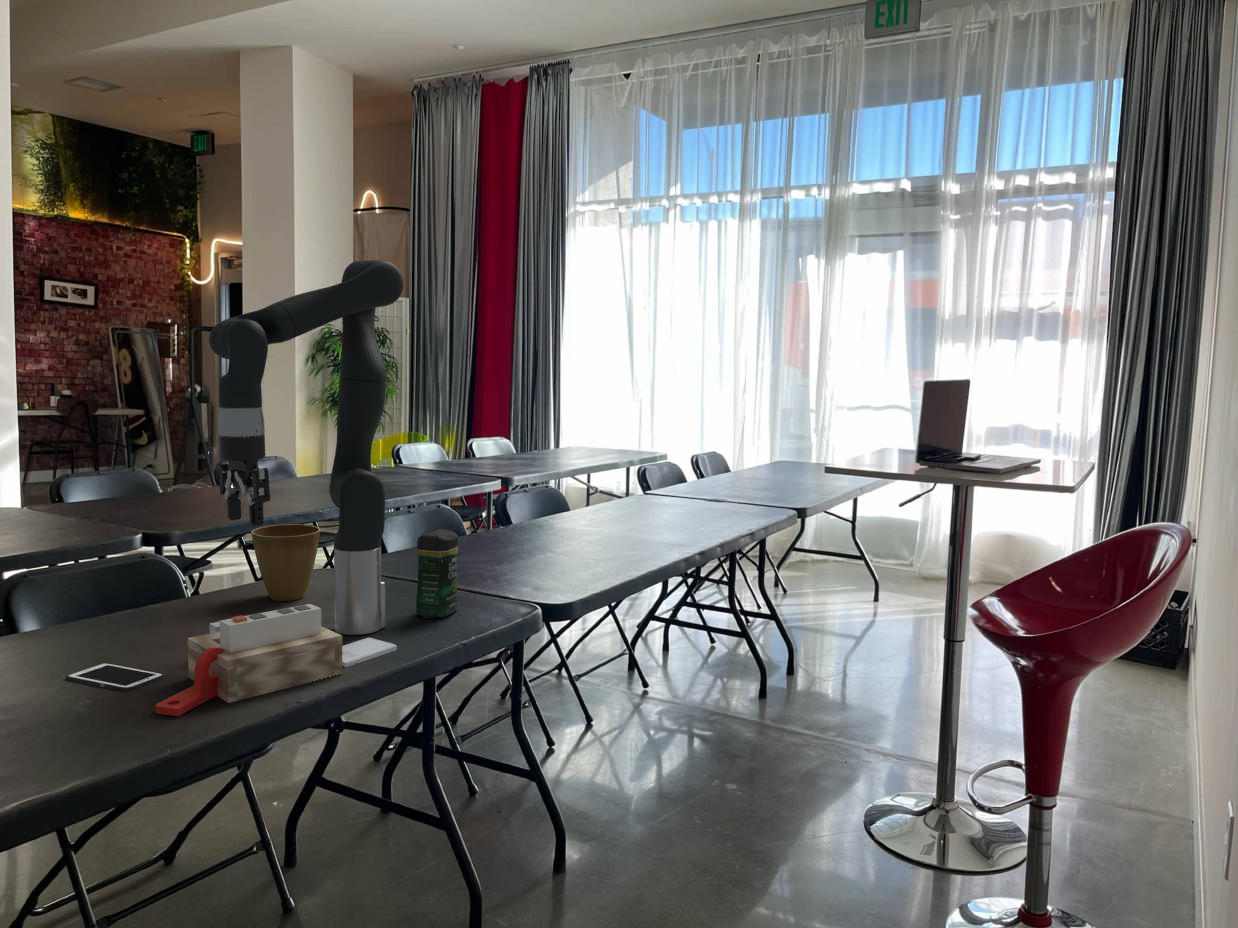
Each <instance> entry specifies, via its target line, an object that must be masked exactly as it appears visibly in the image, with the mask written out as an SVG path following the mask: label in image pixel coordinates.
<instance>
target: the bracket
mask: <svg viewBox="0 0 1238 928" xmlns="http://www.w3.org/2000/svg"><path fill="white" fill-rule="evenodd" d="M223 651H224V650H223V649H221V648H213V647H211V648H208V649H206V650H205V651H203V652H202V654H201V655H200V656H199V658H198V660H197V662H196V665H195V670H194V681H193V682H194V685H191V686H190V687H188V688H186V689H184V690H181V691H180V692H178V693H175V694H174V695H172V696H171V695H170V697H167V698H166V699H163V700H161V701H159V702H158V703H156V704H155V714H158V715H164V716H166V715H167V716H172V717H173V716H174V717H180V716H182V715H183V714H185V713H186V712H189V711H190V710H192V709H195V708H196V707H198V706H200V705H202V704H204V703H205V702H206V703H207V701H209V700H211V699H213V698H215V697H218V696H217V695H218V685H217V675H216V674H215V672H214V671H213V673H212V675H211V676H209V667H210V665H211V663H212V662H214V661H216V660H217V654H219V653H221V652H223Z"/></svg>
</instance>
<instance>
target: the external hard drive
mask: <svg viewBox="0 0 1238 928" xmlns="http://www.w3.org/2000/svg"><path fill="white" fill-rule="evenodd" d="M397 650H398V646H397V645H396V644H394V643H391V642H388V641H383V640H379V639H377V638H376V639H375V638H373V637H366V638H363V639H359V640H357V641H354V642H350V643H347V644H345V645H344V644H343V645H342V667H343V666H344V667H343V668H348V667H351V666H354V665H357V664H359V663H360V664H361V663H363V662H367V661H369V660H371V659H374V658H378V657H380V656H384V655H387V654H389V653H392V652H395V651H397ZM356 663H357V664H356Z"/></svg>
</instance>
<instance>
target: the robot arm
mask: <svg viewBox="0 0 1238 928" xmlns="http://www.w3.org/2000/svg"><path fill="white" fill-rule="evenodd" d="M403 291H404V278H403V274H402V272H401V271H400V269H399V268H398V267H397V266H396V265H395V264H394V263H393V262H389V261H387V260H383V259H382V260H381V259H370V260H367V259H365V260H356V261H352V262H351V263H349V264H348V265H347V266H346V268H345V270H344V271H343V274H342V278H341V282H340V283H336V284H334V285H330V286H327V287H322V288H318V289H315V290H310V291H306V292H302V293H298V294H295V295H292V296H289V297H287V298H284V299H282V300H279V301H277V302H274V303H271V304H269V305H268V306H265V307H264V308H261V309H257V310H254V311H250V312H245V313H243V314H240V315H239V314H238V315H235V316H232V317H228V318H226V319H223V320H221V321H220V322H218V323H216V324H215V325H214V326H213V327H212V329H211V331H210V332H209V336H208V342H209V343H208V344H209V346H210V349H211V350H212V351H213V353H214V354H215V355H217V356H218V357H220V358H221V359H225V360H229V361H228V367H227V368H228V369H227V372H226V374H223V375H222V376H221V377H220V378H219V381H218V405H219V407H218V408H219V409H218V410H219V411H218V420H217V421H218V441H219V443H218V444H219V458H220V459H221V460H223V461H225V462H220V463H219V493H220V495H221V496H224V499H225V500H226V506H227V507H226V508H227V509H226V510H227V511H226V513H227V519H228V520H229V521H236V520H241V519H242V503H241V502H242V501H241V500H242V499H241V496H242V495H244V496H245V497H246V499H247V502H248V508H249V511H248V514H249V525H250V526H251V527H259V526H263V525H264V521H265V519H264V504H265V503H266V502H270V501H271V492H270V491H271V490H270V477H269V469H268V467H259V463H258V462H259V461H260V460H264V459H265V458H266V438H265V437H266V435H265V434H266V433H265V432H266V431H265V417H264V412H263V395H262V381H263V377H264V375H265V368H266V365H267V364H266V363H267V359H268V353H269V345H273V344H281V343H285V342H288V341H291V340H292V339H295V338H297V337H301V336H302V335H305V334H307V333H308V332H311V331H313V330H316V329H318V328H320V327H322V326H325V325H327V324H330V323H331V322H334V321H337V320H340V319H342V320H341V321H342V322H341V323H342V333H341V334H342V335H341V353H340V355H341V356H340V370H339V379H338V394H337V397H338V398H337V401H338V402H337V417H336V418H337V419H336V420H337V422H336V445H335V452H334V459H333V464H332V469H331V475H330V479H329V481H330V482H329V487H328V489H329V492H328V493H329V496H330V499H331V501H332V503H333V504H334V505H335V507H337V508H338V510H339V511H338V512H339V514H338V515H339V516H338V517H339V518H338V519H339V521H338V530H337V532H336V533H334V536H333V564H334V565H333V572H334V573H333V575H334V576H333V577H334V578H333V581H334V582H333V583H334V589H333V590H334V595H333V597H334V621H333V622H334V632H335V633H338V634H340V635H348V636H350V635H351V636H355V635H356V636H359V635H367V634H372V633H375V632H377V631H380V630H381V629H383V628H386V583H385V582H384V581H382V537H383V536H384V535H383V534H384V532H385V531H384V530H385V518H386V491H385V486H384V483H383V481H382V480H381V478H380V477H379V476H378V475H376V474H375V473H373V472H372V463H371V461H372V447H373V442H374V438H375V436H376V432H377V430H378V428H379V425H380V422H381V419H382V416H383V412H384V409H385V405H386V404H385V403H386V394H387V393H386V392H387V370H386V369H387V368H386V364H385V363H384V359H383V355H382V353H381V350H380V348H379V345H378V343H377V339H376V333H375V319H376V317H375V316H376V309H377V308H383V307H387V306H390V305H392V304H394V303H395V302H396V301H398V300H399V299H400V297H401V295H402V294H403ZM226 461H227V462H226Z"/></svg>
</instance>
